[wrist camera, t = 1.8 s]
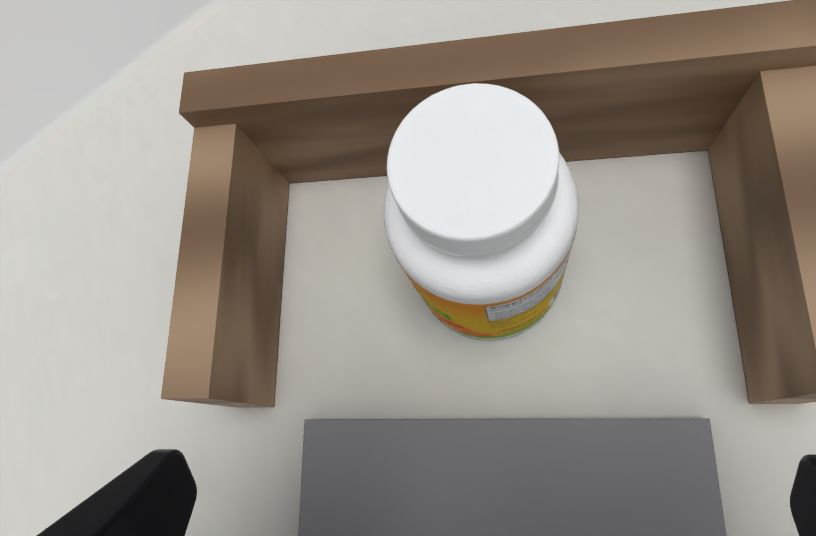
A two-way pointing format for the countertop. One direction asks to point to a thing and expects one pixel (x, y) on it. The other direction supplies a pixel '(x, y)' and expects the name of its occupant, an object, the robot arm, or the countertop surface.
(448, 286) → the supplement bottle
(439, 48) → the brown walled open frame
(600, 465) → the mat
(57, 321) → the countertop surface
